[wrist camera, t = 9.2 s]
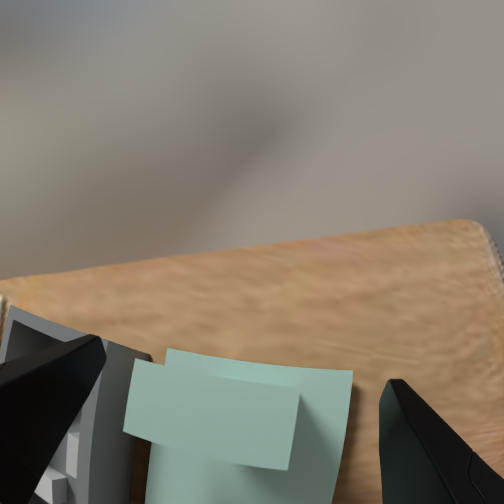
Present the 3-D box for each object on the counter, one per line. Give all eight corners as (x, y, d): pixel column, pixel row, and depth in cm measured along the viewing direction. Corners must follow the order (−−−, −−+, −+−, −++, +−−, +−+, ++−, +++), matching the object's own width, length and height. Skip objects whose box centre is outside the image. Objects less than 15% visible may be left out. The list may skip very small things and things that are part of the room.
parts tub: (127, 555, 9) (93, 578, 5) (35, 499, 10) (-3, 505, 6) (150, 354, 16) (108, 340, 12) (52, 324, 17) (10, 305, 13)
